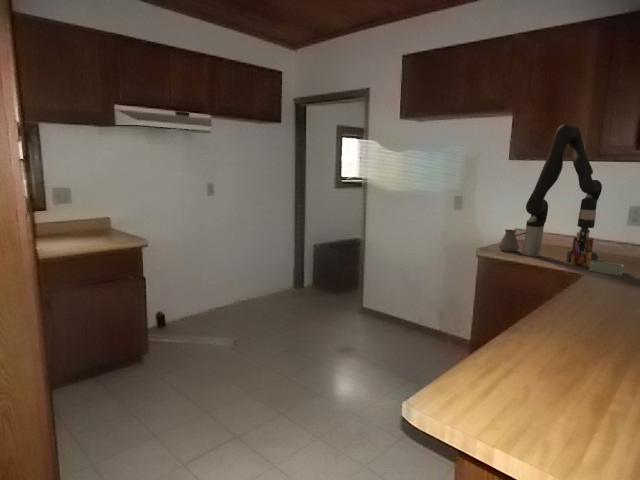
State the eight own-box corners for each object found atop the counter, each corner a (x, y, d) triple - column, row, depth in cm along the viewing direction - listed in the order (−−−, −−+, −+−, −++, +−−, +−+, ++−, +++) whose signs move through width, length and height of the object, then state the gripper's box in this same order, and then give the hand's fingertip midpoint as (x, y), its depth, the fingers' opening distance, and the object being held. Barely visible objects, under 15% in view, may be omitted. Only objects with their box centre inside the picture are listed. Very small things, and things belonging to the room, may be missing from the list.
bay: (566, 261, 236) (567, 251, 235) (568, 259, 242) (569, 249, 241) (596, 266, 227) (598, 255, 226) (598, 263, 233) (600, 252, 232)
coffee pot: (497, 251, 260) (499, 226, 257) (499, 248, 270) (501, 224, 267) (536, 255, 250) (539, 230, 247) (536, 252, 260) (539, 228, 257)
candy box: (590, 266, 227) (594, 237, 224) (589, 267, 223) (593, 238, 221) (571, 263, 232) (574, 235, 229) (570, 264, 229) (573, 236, 226)
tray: (588, 270, 216) (589, 263, 215) (590, 267, 222) (591, 260, 222) (621, 275, 208) (622, 267, 207) (622, 272, 214) (623, 264, 214)
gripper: (580, 216, 231) (576, 247, 234) (576, 218, 220) (572, 250, 223) (596, 217, 227) (592, 249, 229) (593, 220, 215) (588, 252, 218)
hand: (582, 249), depth 226 cm, fingers open, 5 cm apart
